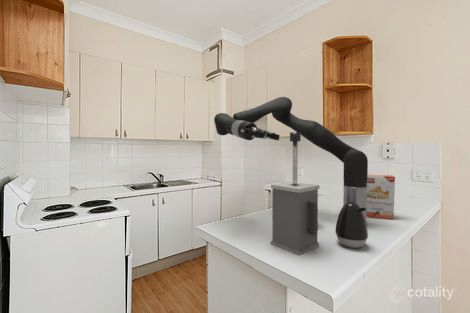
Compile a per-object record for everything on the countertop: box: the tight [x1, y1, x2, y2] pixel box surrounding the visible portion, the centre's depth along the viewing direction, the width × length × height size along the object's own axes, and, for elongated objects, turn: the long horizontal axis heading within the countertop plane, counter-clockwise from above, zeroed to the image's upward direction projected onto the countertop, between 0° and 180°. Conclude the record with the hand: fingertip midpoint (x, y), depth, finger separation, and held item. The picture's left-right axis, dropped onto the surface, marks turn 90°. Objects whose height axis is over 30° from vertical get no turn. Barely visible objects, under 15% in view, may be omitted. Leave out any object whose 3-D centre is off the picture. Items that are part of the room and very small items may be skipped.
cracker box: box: [366, 174, 396, 221], centre depth 115 cm, size 14×6×21 cm, turn 68°
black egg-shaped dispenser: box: [335, 202, 369, 249], centre depth 81 cm, size 10×10×15 cm
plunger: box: [289, 131, 302, 186], centre depth 81 cm, size 8×8×28 cm
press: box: [270, 181, 320, 256], centre depth 81 cm, size 12×14×21 cm
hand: (271, 136), depth 87 cm, fingers open, 8 cm apart
